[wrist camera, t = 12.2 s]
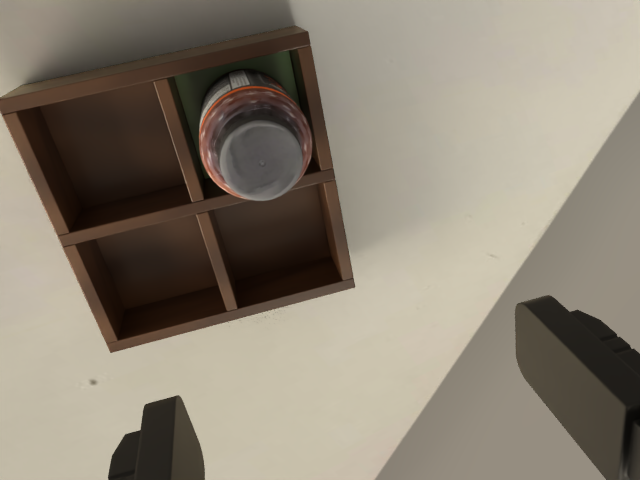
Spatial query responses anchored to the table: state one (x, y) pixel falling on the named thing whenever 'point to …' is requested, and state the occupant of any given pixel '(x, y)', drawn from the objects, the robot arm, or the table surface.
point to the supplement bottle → (253, 136)
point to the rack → (177, 192)
